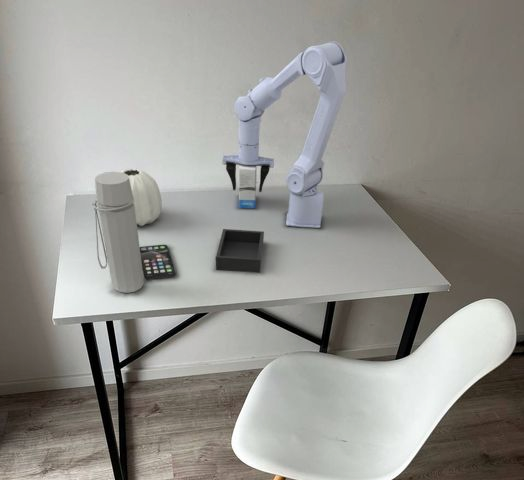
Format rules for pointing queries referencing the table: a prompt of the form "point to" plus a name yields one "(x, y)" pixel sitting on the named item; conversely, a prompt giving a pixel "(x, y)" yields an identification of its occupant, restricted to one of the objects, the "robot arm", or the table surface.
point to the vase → (144, 196)
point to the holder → (240, 250)
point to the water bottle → (119, 231)
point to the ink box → (247, 186)
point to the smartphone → (156, 262)
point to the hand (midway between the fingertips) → (247, 189)
